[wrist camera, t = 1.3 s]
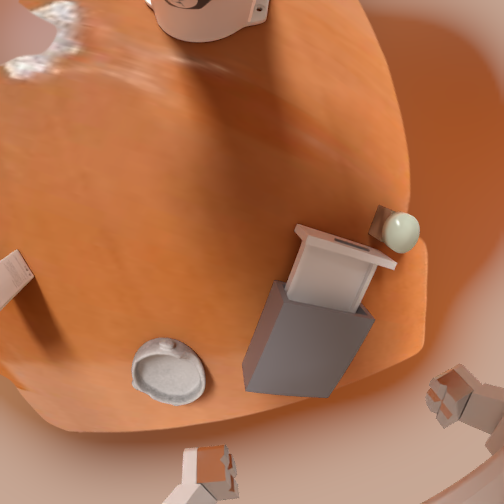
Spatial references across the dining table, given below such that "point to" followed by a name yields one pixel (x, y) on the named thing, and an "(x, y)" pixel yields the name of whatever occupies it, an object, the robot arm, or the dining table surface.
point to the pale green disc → (400, 232)
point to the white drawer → (332, 270)
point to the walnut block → (379, 222)
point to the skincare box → (13, 277)
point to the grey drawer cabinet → (302, 346)
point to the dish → (168, 372)
